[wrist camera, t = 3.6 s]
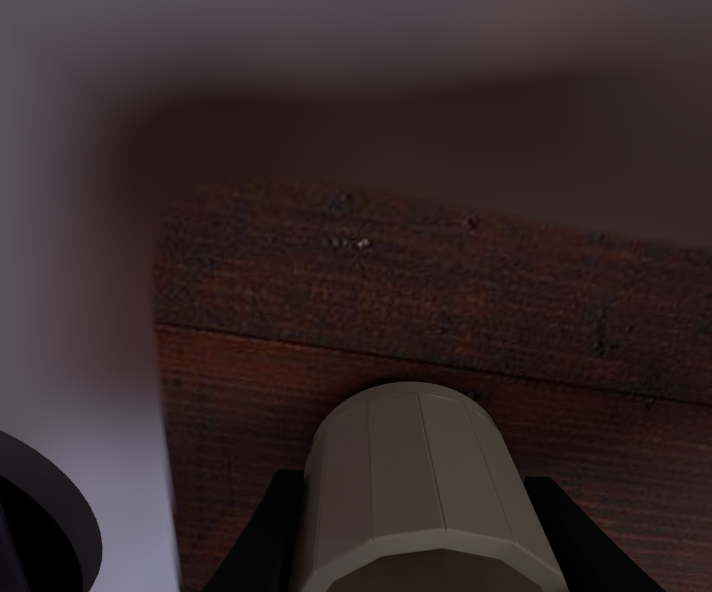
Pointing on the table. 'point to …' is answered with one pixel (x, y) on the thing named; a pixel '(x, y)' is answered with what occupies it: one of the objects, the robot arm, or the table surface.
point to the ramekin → (416, 501)
